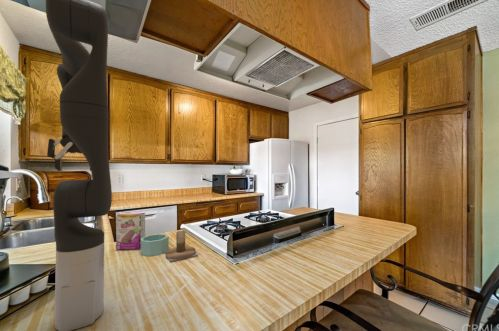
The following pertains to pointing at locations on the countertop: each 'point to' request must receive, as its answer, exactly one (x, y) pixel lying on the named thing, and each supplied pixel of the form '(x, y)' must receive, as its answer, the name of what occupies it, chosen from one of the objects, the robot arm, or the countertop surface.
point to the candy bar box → (130, 230)
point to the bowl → (154, 244)
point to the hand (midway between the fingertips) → (76, 170)
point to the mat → (182, 259)
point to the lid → (180, 248)
